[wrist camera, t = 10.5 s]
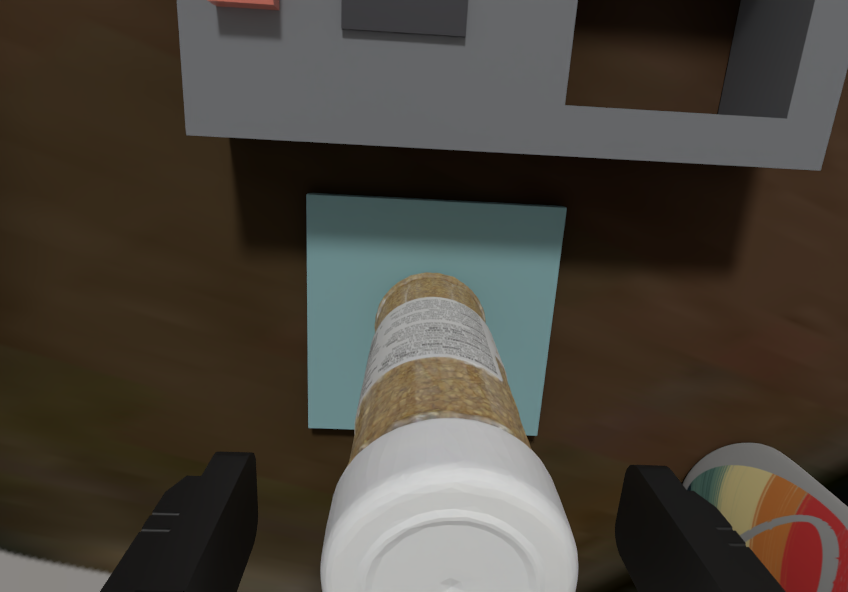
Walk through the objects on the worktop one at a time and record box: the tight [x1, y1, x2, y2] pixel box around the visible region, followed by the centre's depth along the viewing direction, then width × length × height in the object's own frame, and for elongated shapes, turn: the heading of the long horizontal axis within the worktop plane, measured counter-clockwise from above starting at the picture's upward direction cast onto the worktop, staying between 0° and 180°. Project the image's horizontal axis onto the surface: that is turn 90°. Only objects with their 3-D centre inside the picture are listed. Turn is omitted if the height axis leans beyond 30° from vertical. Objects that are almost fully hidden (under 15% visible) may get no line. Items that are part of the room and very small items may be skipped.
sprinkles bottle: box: [320, 272, 578, 592], centre depth 15 cm, size 5×5×14 cm
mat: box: [306, 193, 567, 436], centre depth 22 cm, size 10×10×1 cm
